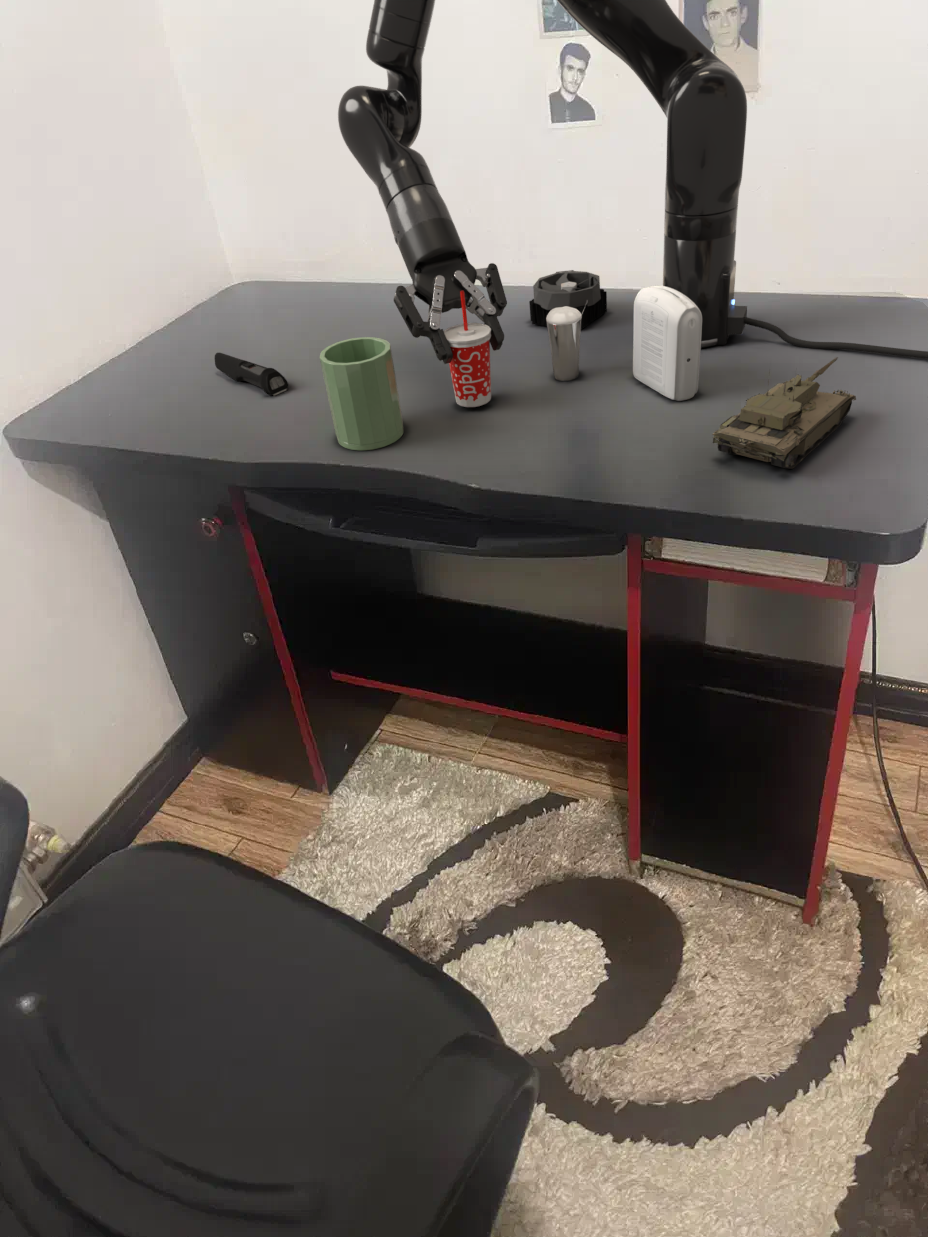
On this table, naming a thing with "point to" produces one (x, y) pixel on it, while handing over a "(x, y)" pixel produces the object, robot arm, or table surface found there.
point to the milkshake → (564, 341)
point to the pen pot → (362, 393)
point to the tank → (784, 422)
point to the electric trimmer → (251, 373)
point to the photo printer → (667, 342)
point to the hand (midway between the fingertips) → (474, 353)
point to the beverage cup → (470, 361)
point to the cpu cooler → (568, 296)
